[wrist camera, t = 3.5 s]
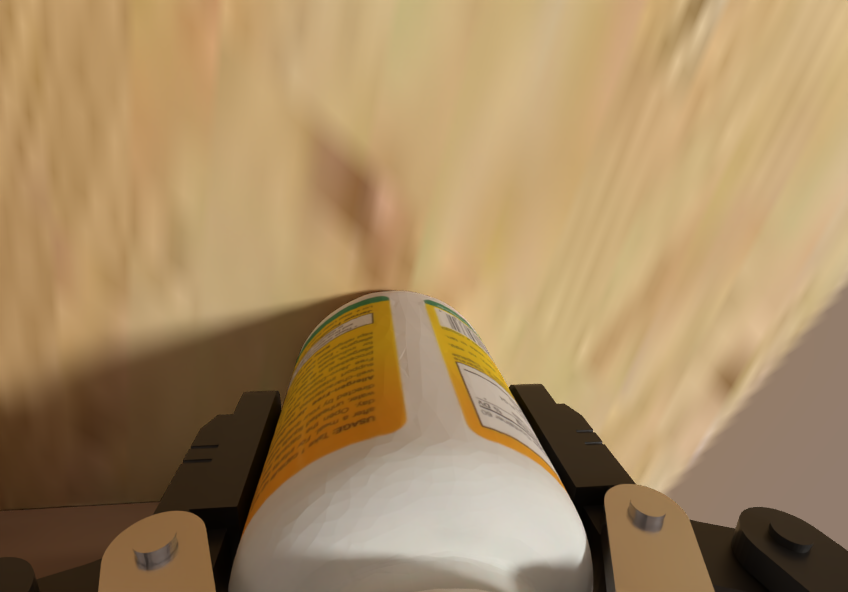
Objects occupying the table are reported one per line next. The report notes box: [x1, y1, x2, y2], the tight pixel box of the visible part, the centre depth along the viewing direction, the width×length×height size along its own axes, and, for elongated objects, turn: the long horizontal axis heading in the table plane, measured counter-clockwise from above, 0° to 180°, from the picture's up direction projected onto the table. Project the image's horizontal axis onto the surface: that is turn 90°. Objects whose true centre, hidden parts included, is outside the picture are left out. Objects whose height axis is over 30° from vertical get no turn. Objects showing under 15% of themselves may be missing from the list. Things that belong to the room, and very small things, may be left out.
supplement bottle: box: [228, 291, 593, 592], centre depth 9 cm, size 5×5×10 cm
